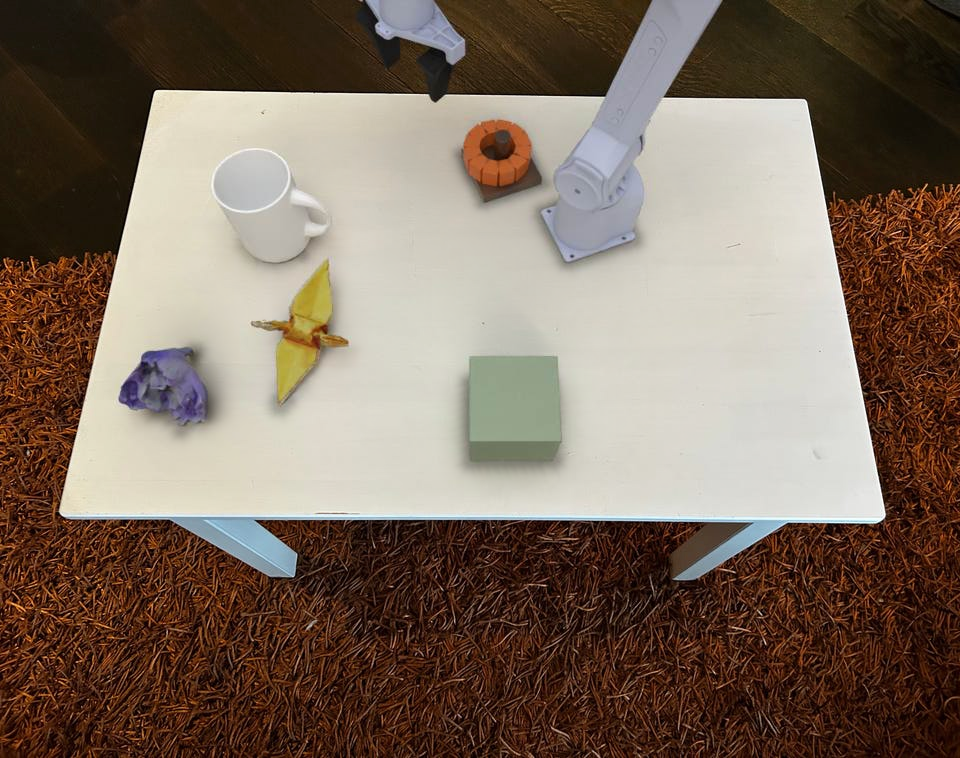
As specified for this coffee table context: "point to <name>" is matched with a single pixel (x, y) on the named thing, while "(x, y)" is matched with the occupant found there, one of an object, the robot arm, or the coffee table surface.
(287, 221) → the mug
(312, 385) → the coffee table surface
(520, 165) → the ring
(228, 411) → the coffee table surface
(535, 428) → the block
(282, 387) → the origami crane
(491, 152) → the stand
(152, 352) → the purple lumpy chunk
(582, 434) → the coffee table surface
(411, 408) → the coffee table surface
